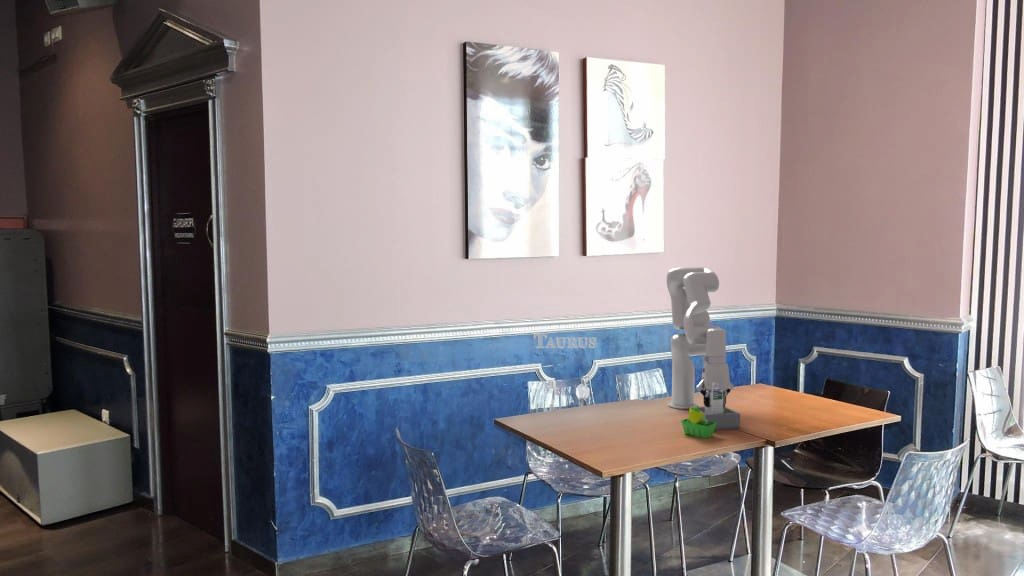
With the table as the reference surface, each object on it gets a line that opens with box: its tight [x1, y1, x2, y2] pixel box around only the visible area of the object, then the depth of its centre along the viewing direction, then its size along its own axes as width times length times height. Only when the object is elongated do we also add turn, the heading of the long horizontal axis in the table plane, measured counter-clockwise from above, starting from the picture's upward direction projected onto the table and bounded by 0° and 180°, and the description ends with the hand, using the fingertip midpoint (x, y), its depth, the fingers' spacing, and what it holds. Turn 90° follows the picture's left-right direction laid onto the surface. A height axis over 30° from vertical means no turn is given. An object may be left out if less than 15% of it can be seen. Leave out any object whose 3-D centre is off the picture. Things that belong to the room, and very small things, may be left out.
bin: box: [689, 406, 741, 431], centre depth 311 cm, size 14×14×6 cm
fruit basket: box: [680, 406, 717, 439], centre depth 296 cm, size 11×9×11 cm
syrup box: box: [704, 382, 726, 414], centre depth 311 cm, size 6×6×14 cm
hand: (714, 405), depth 311 cm, fingers closed on syrup box, 6 cm apart
